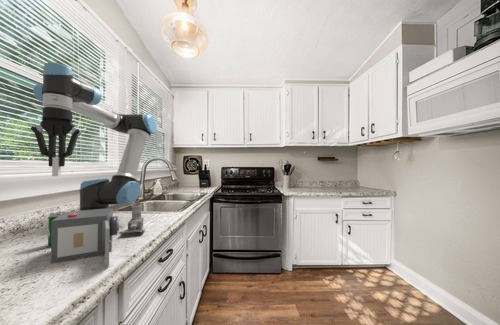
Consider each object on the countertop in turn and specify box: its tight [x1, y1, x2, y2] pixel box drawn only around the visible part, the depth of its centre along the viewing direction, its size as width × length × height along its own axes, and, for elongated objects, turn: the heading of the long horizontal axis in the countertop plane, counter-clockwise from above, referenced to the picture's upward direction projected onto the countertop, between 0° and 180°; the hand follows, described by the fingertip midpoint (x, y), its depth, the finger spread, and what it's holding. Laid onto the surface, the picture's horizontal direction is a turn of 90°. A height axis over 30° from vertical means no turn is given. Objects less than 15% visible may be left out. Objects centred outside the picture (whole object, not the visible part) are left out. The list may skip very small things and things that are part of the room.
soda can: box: [47, 211, 67, 247], centre depth 76 cm, size 5×5×12 cm
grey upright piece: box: [119, 203, 146, 235], centre depth 91 cm, size 9×12×15 cm
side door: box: [101, 220, 113, 268], centre depth 62 cm, size 2×12×11 cm, turn 37°
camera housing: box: [50, 207, 120, 264], centre depth 71 cm, size 14×16×14 cm
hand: (56, 176), depth 69 cm, fingers closed
